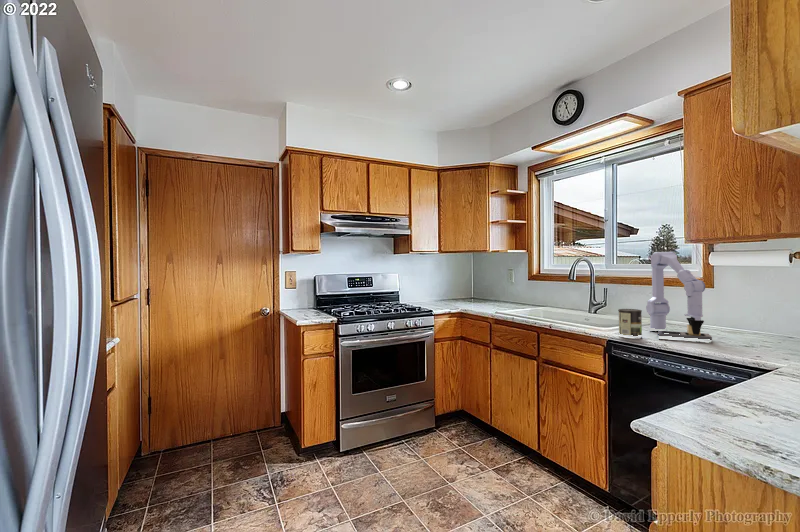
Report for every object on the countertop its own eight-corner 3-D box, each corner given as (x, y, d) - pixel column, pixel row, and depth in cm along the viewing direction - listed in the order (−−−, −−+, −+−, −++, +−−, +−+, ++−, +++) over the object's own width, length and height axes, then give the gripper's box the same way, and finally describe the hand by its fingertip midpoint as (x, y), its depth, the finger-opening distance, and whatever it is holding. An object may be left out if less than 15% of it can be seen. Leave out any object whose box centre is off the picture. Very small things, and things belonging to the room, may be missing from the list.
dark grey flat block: (658, 336, 198) (658, 330, 198) (708, 339, 187) (708, 333, 187) (659, 339, 190) (659, 333, 190) (712, 343, 179) (711, 337, 179)
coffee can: (641, 336, 198) (641, 309, 198) (642, 340, 189) (641, 311, 189) (618, 334, 204) (618, 308, 204) (618, 338, 195) (617, 310, 195)
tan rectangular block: (687, 336, 190) (686, 324, 190) (698, 337, 187) (698, 324, 187) (689, 338, 186) (688, 325, 186) (700, 338, 183) (700, 326, 183)
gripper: (682, 303, 194) (682, 330, 195) (687, 306, 182) (687, 335, 182) (699, 304, 191) (699, 331, 191) (706, 307, 178) (706, 336, 178)
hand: (695, 333), depth 186 cm, fingers closed on tan rectangular block, 4 cm apart
